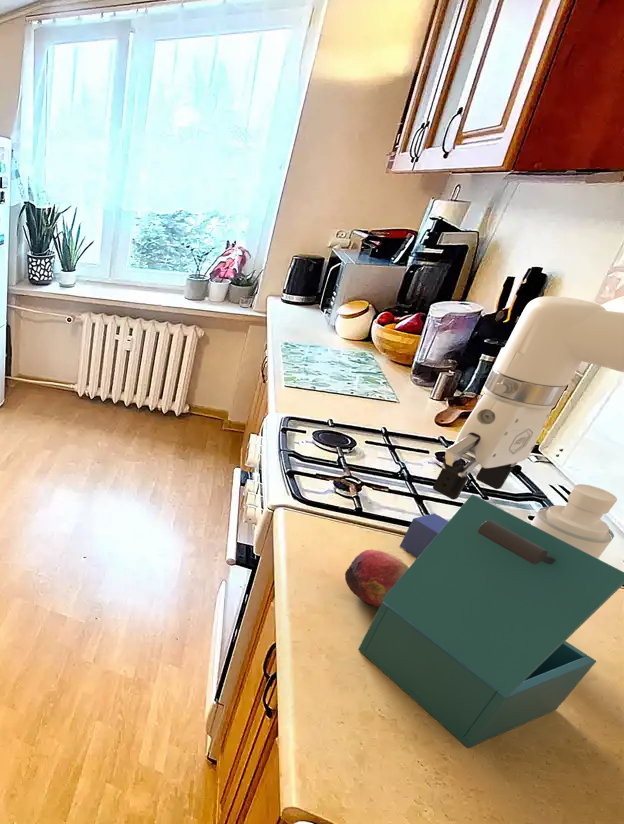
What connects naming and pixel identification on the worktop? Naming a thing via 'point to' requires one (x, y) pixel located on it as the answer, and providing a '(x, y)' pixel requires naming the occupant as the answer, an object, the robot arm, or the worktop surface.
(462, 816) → the worktop surface
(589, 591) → the teal box lid
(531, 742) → the worktop surface
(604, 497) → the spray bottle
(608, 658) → the worktop surface
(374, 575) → the fruit
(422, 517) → the blue rectangular block
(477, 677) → the teal box base
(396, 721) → the worktop surface
